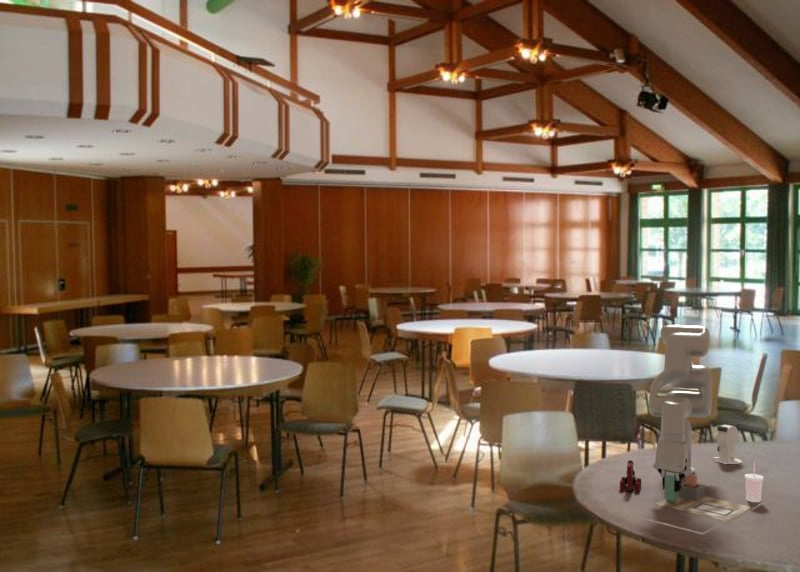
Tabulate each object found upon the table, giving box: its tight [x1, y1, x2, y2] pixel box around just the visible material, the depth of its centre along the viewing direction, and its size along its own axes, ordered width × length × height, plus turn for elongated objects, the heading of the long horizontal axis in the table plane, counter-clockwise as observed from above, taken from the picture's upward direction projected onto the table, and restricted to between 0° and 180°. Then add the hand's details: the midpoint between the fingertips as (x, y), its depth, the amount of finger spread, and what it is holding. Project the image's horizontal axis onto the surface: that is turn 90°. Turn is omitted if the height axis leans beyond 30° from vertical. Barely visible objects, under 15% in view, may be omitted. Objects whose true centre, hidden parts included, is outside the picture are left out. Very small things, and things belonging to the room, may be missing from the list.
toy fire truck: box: [619, 460, 642, 494], centre depth 296 cm, size 7×12×10 cm, turn 160°
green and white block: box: [663, 471, 678, 503], centre depth 280 cm, size 3×3×11 cm
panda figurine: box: [713, 422, 743, 465], centre depth 335 cm, size 12×11×15 cm
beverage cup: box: [744, 461, 764, 503], centre depth 283 cm, size 6×6×14 cm
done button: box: [685, 473, 698, 488], centre depth 286 cm, size 4×4×5 cm
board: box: [654, 495, 752, 524], centre depth 277 cm, size 25×20×1 cm
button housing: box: [678, 481, 706, 501], centre depth 286 cm, size 7×7×4 cm
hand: (671, 489), depth 280 cm, fingers closed on green and white block, 3 cm apart
